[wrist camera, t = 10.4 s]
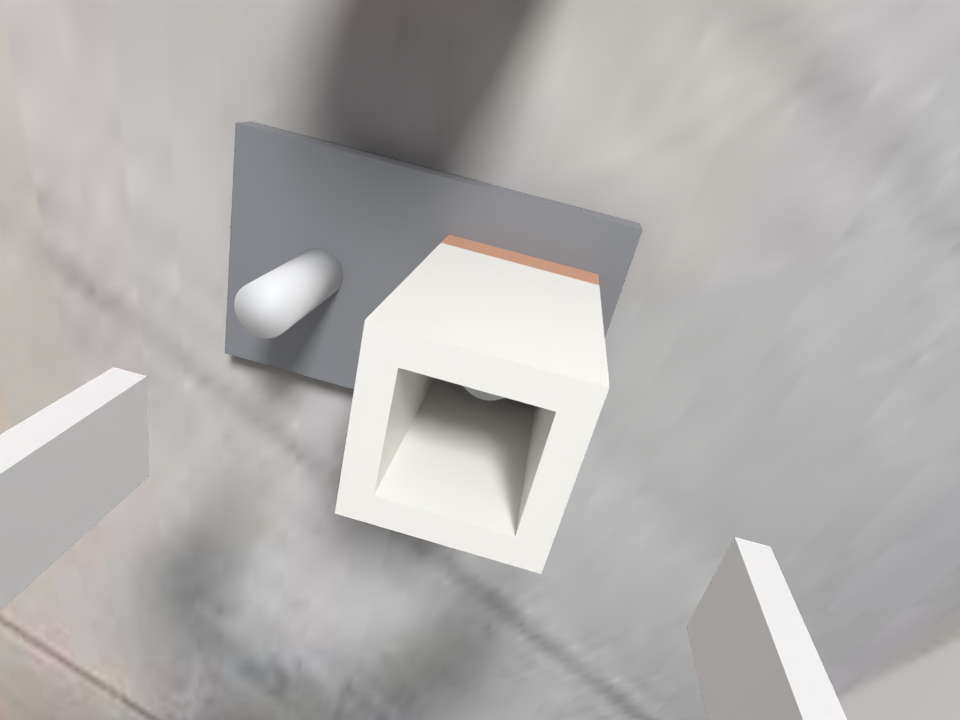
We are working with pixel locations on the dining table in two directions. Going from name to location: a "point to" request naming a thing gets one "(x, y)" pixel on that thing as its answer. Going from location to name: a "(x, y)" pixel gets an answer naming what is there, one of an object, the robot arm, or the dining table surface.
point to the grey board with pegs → (372, 244)
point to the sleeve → (476, 402)
